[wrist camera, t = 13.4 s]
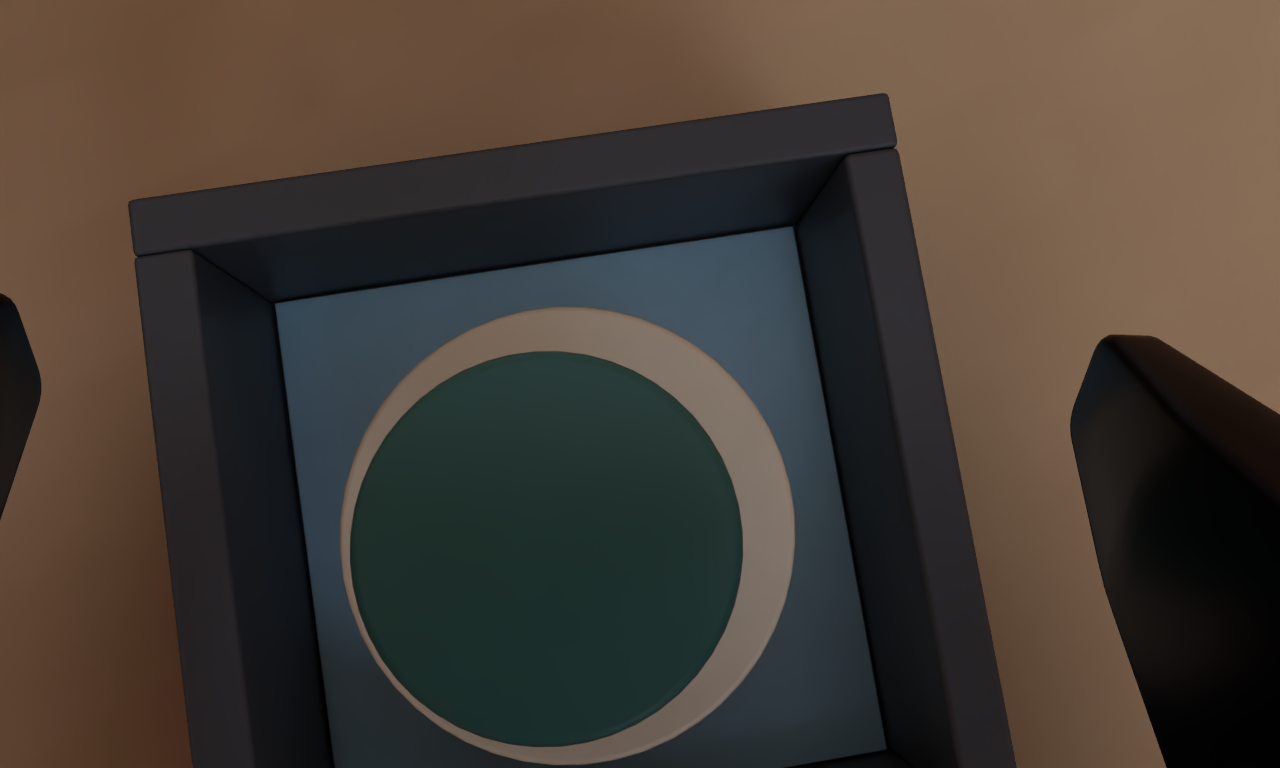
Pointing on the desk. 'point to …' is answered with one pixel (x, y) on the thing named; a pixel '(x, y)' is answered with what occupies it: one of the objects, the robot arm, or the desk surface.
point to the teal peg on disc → (567, 535)
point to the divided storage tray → (568, 277)
